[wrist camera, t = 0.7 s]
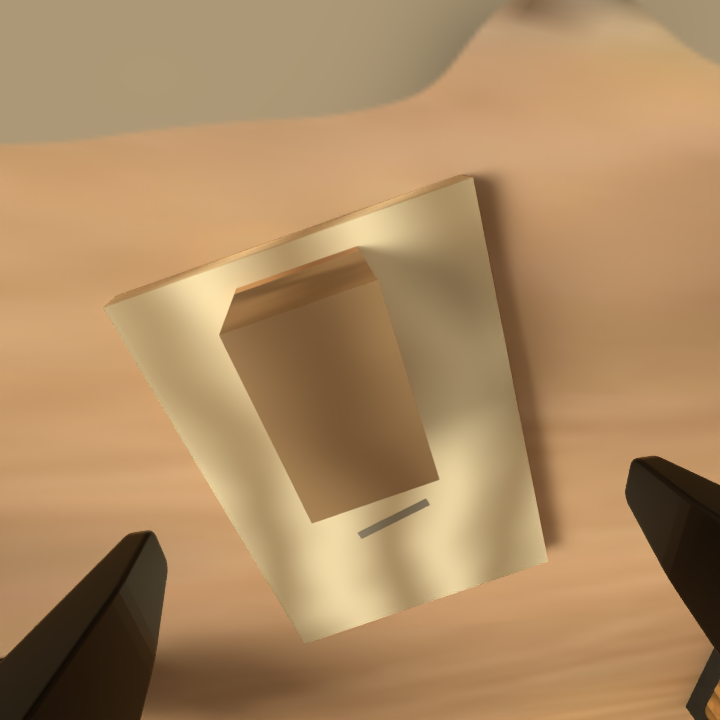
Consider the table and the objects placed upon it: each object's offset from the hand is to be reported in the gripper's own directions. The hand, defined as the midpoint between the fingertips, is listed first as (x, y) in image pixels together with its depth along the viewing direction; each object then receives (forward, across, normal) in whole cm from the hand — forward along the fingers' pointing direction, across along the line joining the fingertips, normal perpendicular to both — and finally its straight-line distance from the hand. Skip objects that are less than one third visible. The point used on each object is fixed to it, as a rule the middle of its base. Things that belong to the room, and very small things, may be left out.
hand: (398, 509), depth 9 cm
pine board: (+13, 0, +8) cm, 16 cm away
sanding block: (+12, +1, +2) cm, 12 cm away
